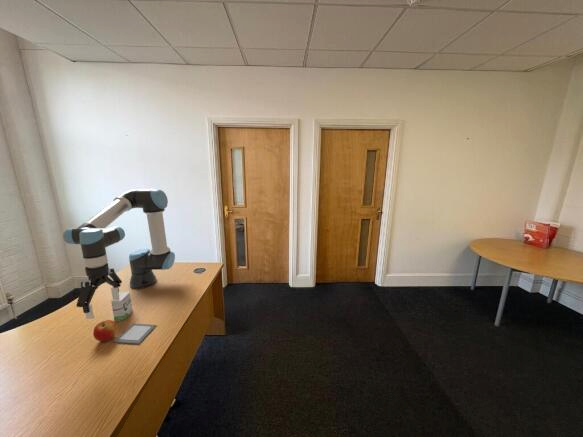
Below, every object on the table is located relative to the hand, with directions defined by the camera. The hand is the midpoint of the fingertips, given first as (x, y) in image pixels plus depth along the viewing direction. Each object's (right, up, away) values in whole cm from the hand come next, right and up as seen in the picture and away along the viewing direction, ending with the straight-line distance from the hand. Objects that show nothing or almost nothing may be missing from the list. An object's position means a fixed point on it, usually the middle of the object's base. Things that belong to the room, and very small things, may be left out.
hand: (104, 308), depth 100 cm
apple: (-1, -16, +3) cm, 16 cm away
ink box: (-6, -12, +19) cm, 23 cm away
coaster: (+10, -15, +7) cm, 19 cm away
